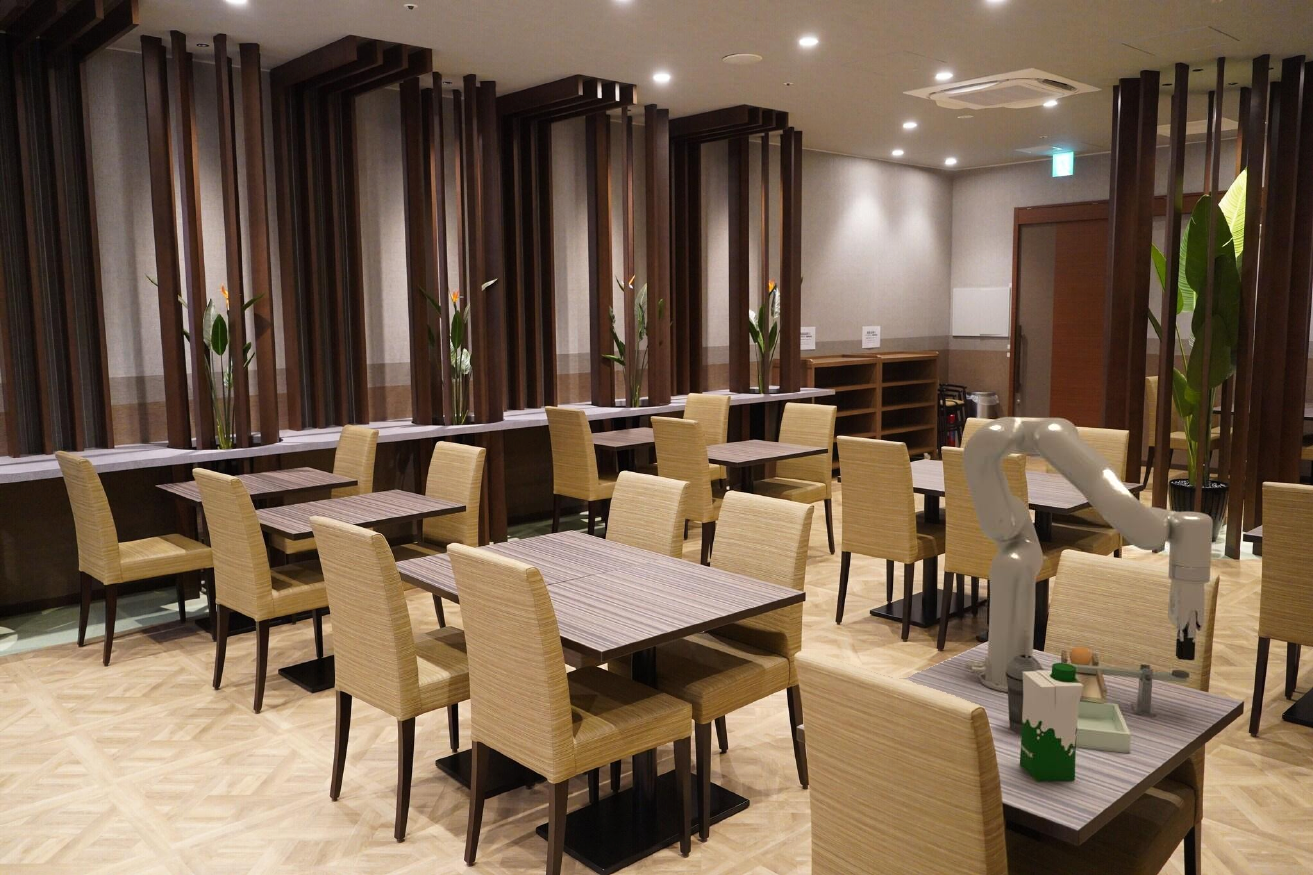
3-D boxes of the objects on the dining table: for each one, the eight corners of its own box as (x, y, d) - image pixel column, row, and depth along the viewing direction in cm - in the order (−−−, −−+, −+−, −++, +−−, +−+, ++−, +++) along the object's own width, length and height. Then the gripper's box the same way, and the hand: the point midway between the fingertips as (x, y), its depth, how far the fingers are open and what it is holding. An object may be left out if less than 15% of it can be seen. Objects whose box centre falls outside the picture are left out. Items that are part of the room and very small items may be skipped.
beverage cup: (1035, 723, 201) (1040, 629, 198) (1045, 738, 194) (1051, 641, 191) (998, 721, 202) (1003, 627, 199) (1007, 737, 194) (1012, 639, 192)
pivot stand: (1135, 714, 206) (1138, 670, 205) (1130, 704, 211) (1133, 661, 210) (1156, 716, 205) (1159, 672, 204) (1151, 707, 210) (1154, 663, 209)
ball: (1069, 670, 213) (1071, 654, 210) (1067, 656, 216) (1069, 641, 214) (1091, 672, 211) (1093, 657, 209) (1089, 658, 215) (1091, 643, 213)
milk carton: (1082, 782, 176) (1089, 675, 173) (1033, 784, 175) (1039, 676, 172) (1058, 760, 184) (1064, 657, 182) (1011, 762, 184) (1017, 659, 181)
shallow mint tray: (1061, 745, 191) (1063, 726, 190) (1053, 714, 205) (1054, 697, 205) (1129, 753, 188) (1130, 734, 187) (1116, 721, 202) (1117, 704, 202)
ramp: (1067, 720, 202) (1070, 675, 201) (1059, 691, 218) (1061, 649, 217) (1104, 724, 201) (1107, 679, 199) (1093, 695, 216) (1096, 652, 215)
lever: (1062, 671, 210) (1062, 663, 210) (1060, 666, 213) (1061, 658, 213) (1190, 684, 203) (1191, 676, 203) (1186, 679, 206) (1187, 670, 206)
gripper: (1161, 562, 210) (1157, 645, 212) (1177, 580, 196) (1172, 669, 198) (1200, 564, 208) (1196, 648, 210) (1219, 582, 194) (1214, 672, 196)
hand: (1185, 658), depth 204 cm, fingers closed
